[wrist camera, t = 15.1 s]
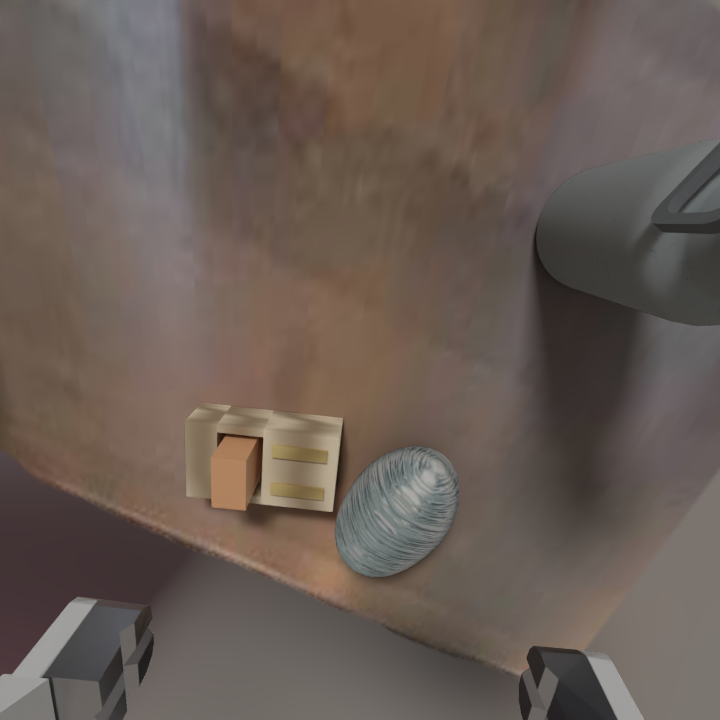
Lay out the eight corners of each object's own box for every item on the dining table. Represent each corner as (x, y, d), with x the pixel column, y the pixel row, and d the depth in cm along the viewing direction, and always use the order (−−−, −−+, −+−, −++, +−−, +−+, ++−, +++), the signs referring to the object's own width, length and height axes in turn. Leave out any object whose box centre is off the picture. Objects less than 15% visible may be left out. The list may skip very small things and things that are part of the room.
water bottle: (504, 236, 36) (878, 279, 9) (592, 136, 33) (1444, -193, 7) (587, 310, 38) (1096, 523, 11) (676, 221, 35) (1610, 219, 9)
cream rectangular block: (202, 472, 44) (185, 498, 40) (201, 402, 42) (183, 422, 38) (336, 487, 44) (332, 514, 40) (343, 418, 42) (340, 439, 38)
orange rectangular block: (236, 463, 44) (211, 507, 37) (236, 420, 42) (210, 457, 36) (264, 466, 44) (245, 510, 37) (266, 423, 42) (246, 460, 36)
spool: (390, 584, 44) (373, 623, 34) (328, 514, 47) (297, 532, 37) (481, 489, 44) (489, 502, 34) (414, 424, 47) (404, 419, 37)
